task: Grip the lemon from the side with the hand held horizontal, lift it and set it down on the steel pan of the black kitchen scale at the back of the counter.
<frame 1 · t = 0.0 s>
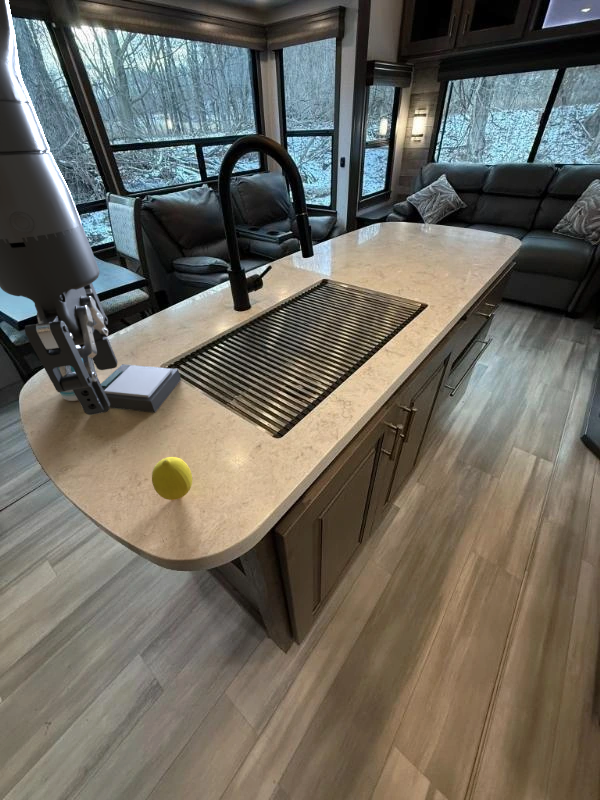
hand: (104, 387, 36), 23 cm above the worktop, tool pointing down, fingers open, 8 cm apart
scale: (139, 392, 74), on the worktop
lemon: (179, 495, 52), on the worktop
pill bottle: (82, 392, 74), on the worktop
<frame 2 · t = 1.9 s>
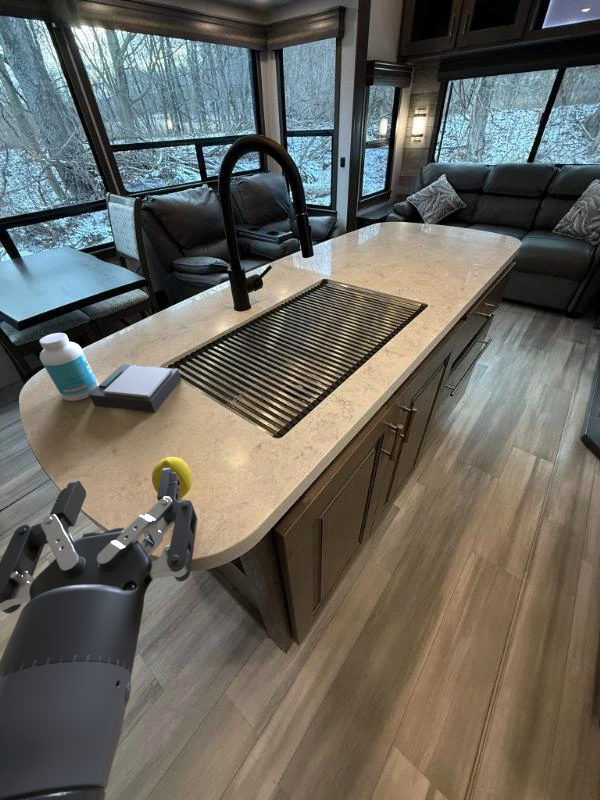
hand: (124, 479, 33), 18 cm above the worktop, tool horizontal, fingers open, 8 cm apart
nothing on the worktop moved.
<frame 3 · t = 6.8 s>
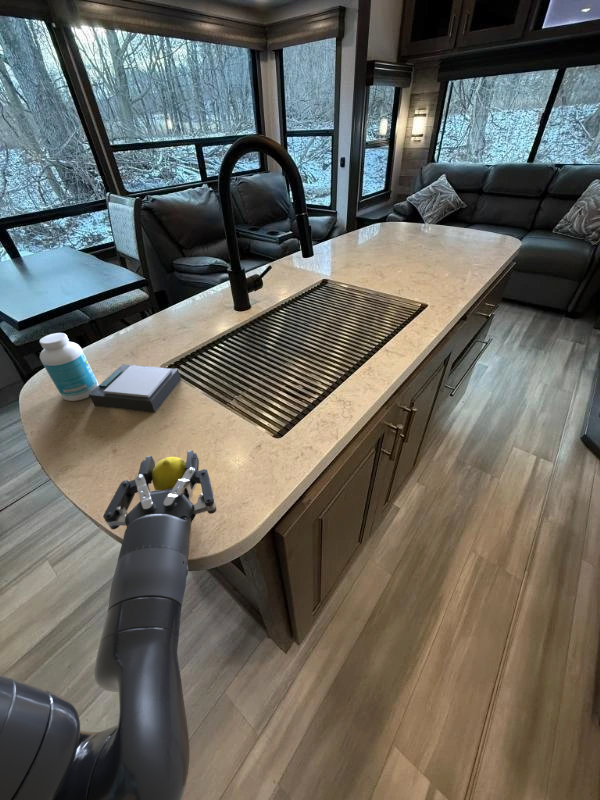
hand: (171, 457, 51), 6 cm above the worktop, tool horizontal, fingers closed on lemon, 5 cm apart
lemon: (179, 495, 52), on the worktop, touching gripper
everything else where it was.
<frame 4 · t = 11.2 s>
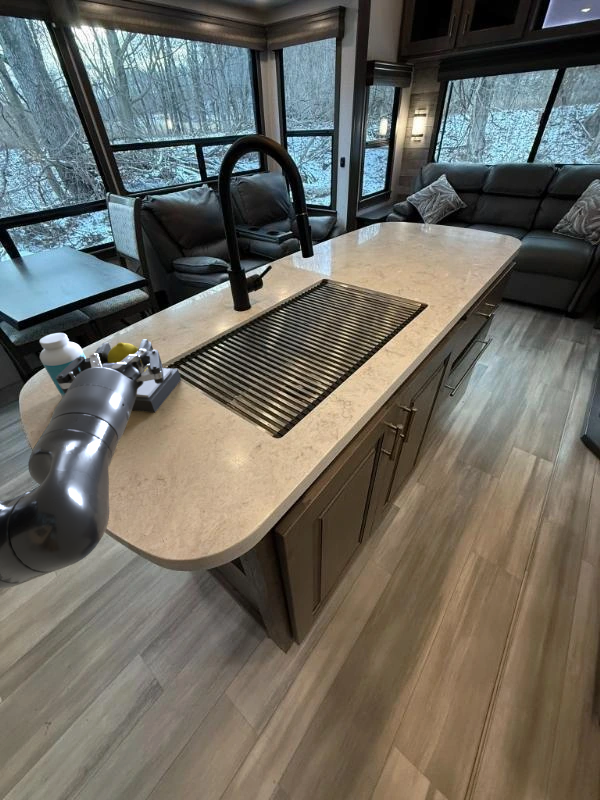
hand: (127, 346, 54), 18 cm above the worktop, tool horizontal, fingers closed on lemon, 5 cm apart
lemon: (136, 386, 56), point 11 cm above the worktop, touching gripper
everything else where it was.
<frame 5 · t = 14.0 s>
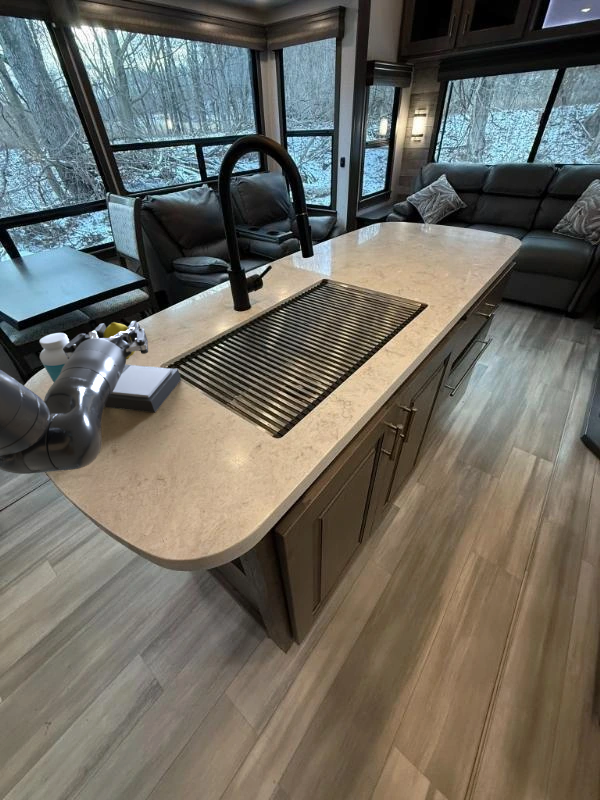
hand: (120, 326, 67), 15 cm above the worktop, tool horizontal, fingers closed on lemon, 5 cm apart
lemon: (127, 359, 68), point 9 cm above the worktop, touching gripper
everything else where it was.
when the fingers open (10 cm above the worktop, at t = 16.0 s): lemon stays where it is, resting on scale.
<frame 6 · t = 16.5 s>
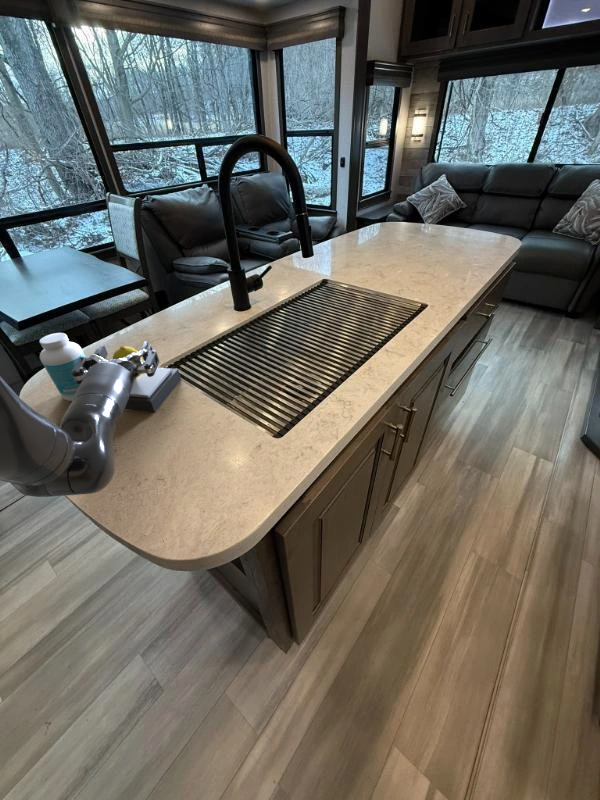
hand: (126, 347, 69), 10 cm above the worktop, tool horizontal, fingers open, 8 cm apart
lemon: (135, 379, 72), point 3 cm above the worktop, touching scale
everything else where it was.
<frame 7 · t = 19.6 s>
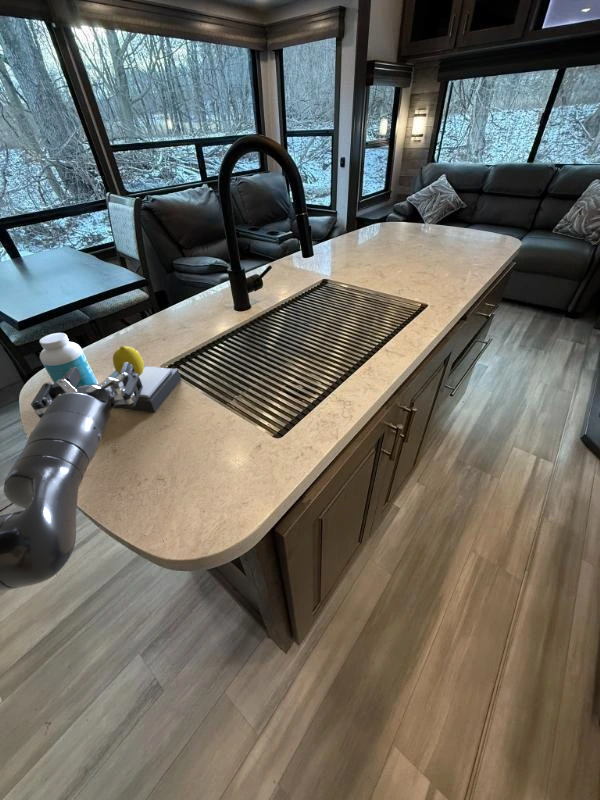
hand: (103, 369, 57), 13 cm above the worktop, tool horizontal, fingers open, 8 cm apart
nothing on the worktop moved.
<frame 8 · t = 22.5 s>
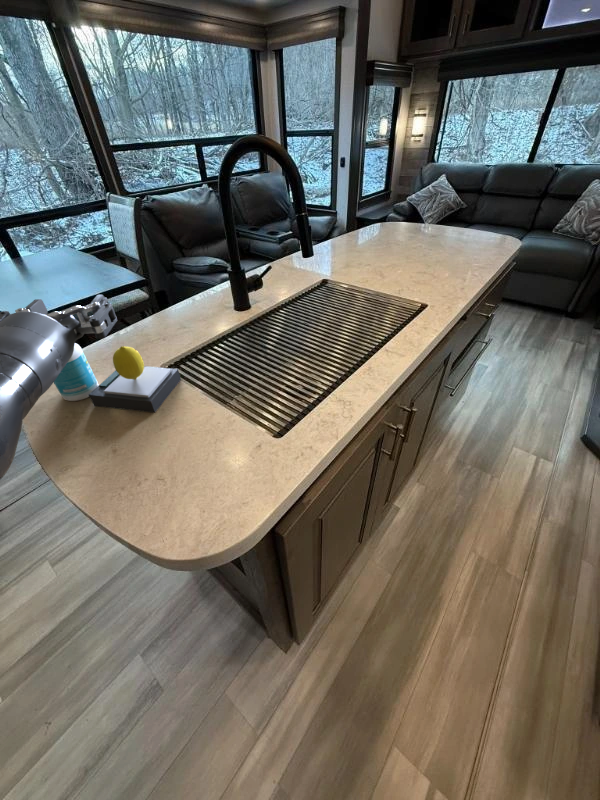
hand: (72, 303, 50), 25 cm above the worktop, tool horizontal, fingers open, 8 cm apart
nothing on the worktop moved.
at the end: lemon inside the target area on the scale (0.4 cm from its centre), point 3.4 cm above the scale's base; lemon touching scale; the gripper is holding nothing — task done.
